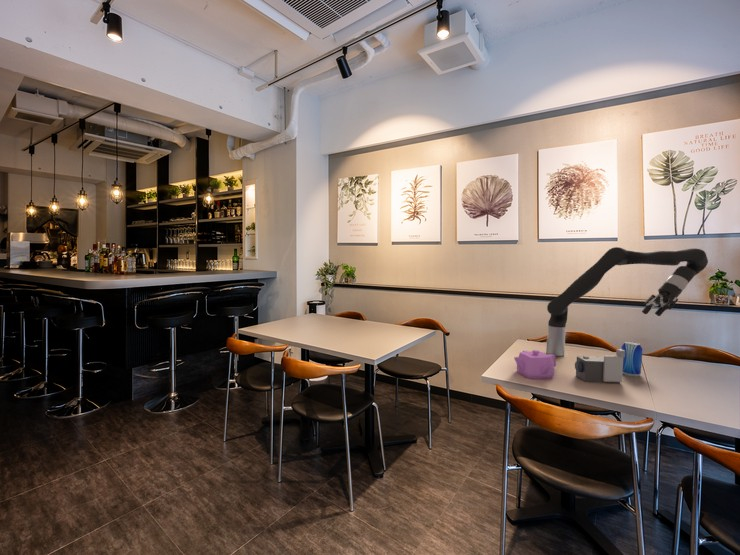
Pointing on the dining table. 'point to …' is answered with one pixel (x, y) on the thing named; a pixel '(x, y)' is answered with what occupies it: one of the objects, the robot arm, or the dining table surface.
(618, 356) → the side door
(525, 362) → the teakettle
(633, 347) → the beer can
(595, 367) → the camera body
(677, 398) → the dining table surface
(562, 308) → the robot arm
